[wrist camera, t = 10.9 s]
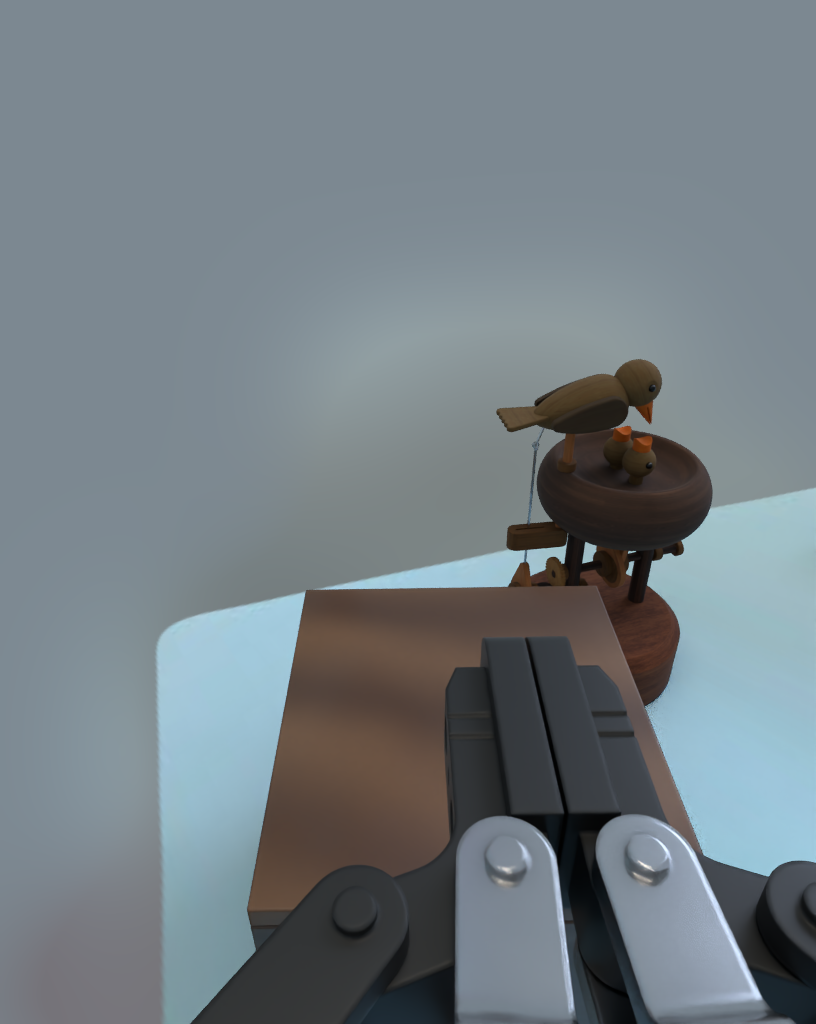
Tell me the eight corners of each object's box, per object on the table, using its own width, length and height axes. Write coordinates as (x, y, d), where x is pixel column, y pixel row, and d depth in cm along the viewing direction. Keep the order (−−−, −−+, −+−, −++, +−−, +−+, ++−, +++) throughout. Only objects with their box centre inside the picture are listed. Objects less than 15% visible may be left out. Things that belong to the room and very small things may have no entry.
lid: (307, 603, 32) (305, 589, 32) (594, 599, 32) (596, 584, 32) (249, 926, 20) (246, 911, 19) (717, 919, 20) (723, 902, 19)
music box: (554, 758, 38) (575, 405, 29) (453, 648, 47) (445, 352, 38) (752, 666, 44) (821, 348, 35) (628, 583, 53) (658, 313, 44)
